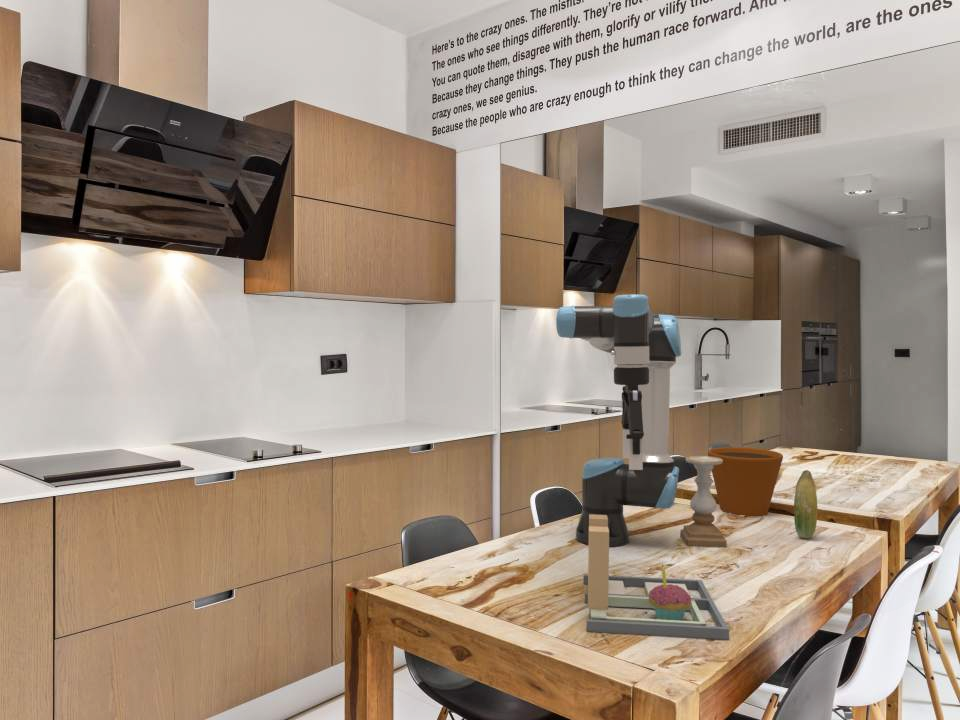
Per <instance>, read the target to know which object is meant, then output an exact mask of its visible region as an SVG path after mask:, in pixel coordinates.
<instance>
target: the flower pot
mask: <svg viewBox="0 0 960 720" xmlns="http://www.w3.org/2000/svg"><path fill="white" fill-rule="evenodd" d="M707 456H710V457H717V458H721V459H722V460H723V463H722V464H719V465H714V468H713V469H712V470H711V473H712V478H713V479H712V480H713V484H714V487H715V491H716V495H717V500H718V504H719V507H720V511H722V512H723V513H727V514H729V513H731V514H730V515H734V514H737V515H736V516H740V515H745V516H744V517H751V516H759V517H764V516H763V515H765V516H767V515H768V512H769V510H770V505H771V503H772V497H773V494H774V491H775V489H776V484H777V481H778V477H779V474H780V470H781V466H782V463H783V460H784V455H783V454H782V453H781V452H778V451H775V450H770V449H762V448H754V447H753V448H752V447H734V446H727V447H723V446H722V447H714V448H710V449H708V450H707Z"/></svg>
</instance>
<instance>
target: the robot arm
mask: <svg viewBox="0 0 960 720" xmlns="http://www.w3.org/2000/svg"><path fill="white" fill-rule="evenodd" d="M555 318H556V322H555V324H556V326H555V328H556V332H557V335H558V336H559V337H560V338H563V339H564V338H565V339H582V340H584V341H586V342H588V343H589V344H590V345H591V346H592V347H593V348H595V349H597V350H599V351H603V352H606V353H609V354H610V355H611V356H613V364H614V365H615V367H614V368H613V382H614V384H615V385H618V386H622V389H621V390H622V392H621V405H622V407H621V409H622V411H621V413H622V414H621V421H620V422H621V423H620V424H621V427H622V457H603V458H601V457H600V458H595V459H591V460H587V461H586V462H585V463H584V464H583V466H582V476H581V480H582V481H581V482H582V484H581V485H582V487H581V488H582V489H581V490H582V491H581V492H582V493H581V494H582V496H581V497H582V498H581V499H582V500H581V501H582V505H581V507H582V508H581V513H580V514H581V515H580V516H579V517H580V518H579V520H578V522H577V525H576V529H575V540H577V541H578V542H579V541H580V542H579V543H583V544H585V545H588V546H589V514H593V515H607V518H608V529H609V547H618V546H619V547H620V546H623V545H627V544H628V543H629V542H630V532H629V528H628V525H627V522H626V518H625V516H624V506H630V507H639V508H641V507H642V508H652V509H670V508H672V507H673V506H674V503H675V500H676V499H675V498H676V495H677V494H676V493H677V488H678V483H679V474H680V468H679V467H677V466H675V461H674V459H673V457H671V455H670V454H669V449H670V448H669V447H670V442H669V441H670V440H669V439H670V438H669V436H670V434H669V433H670V385H671V384H670V380H671V377H670V376H671V369H672V367H673V366H674V365H675V364H676V363H677V362H676V361H677V357H678V358H679V357H681V355H682V343H681V334H680V327H679V322H678V319H677V317H676V316H674V315H672V314H659V313H658V314H653V313H652V311H651V310H650V306H649V297H648V295H646V294H635V293H634V294H619V295H616V296H614V298H613V305H597V306H596V305H586V306H585V305H569V306H568V305H567V306H561V307H559V309H558V310H557V313H556V317H555ZM624 459H628V463H625V461H624Z"/></svg>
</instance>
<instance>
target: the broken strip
mask: <svg viewBox="0 0 960 720" xmlns="http://www.w3.org/2000/svg"><path fill="white" fill-rule="evenodd" d="M589 526H596V527H608V518H607V515H593V514H589ZM662 584H663V583H654V582H645V587H644V588H645V589H644V590H645V592H646V596H649V593H650V591H651V590H652V589H653V588H654V587H656V586H660V585H662ZM670 584H671V585H678V586H679V587H681V588H682V589H684V590H685V591H686V592H687V593H688V594H689V595H690V597H691V598H692V595H691V594H690V592H689V589H687V588H686V586H685V584H675V583H667V585H670ZM608 594H626V589H625V586H624V584H623V581H614V580H609V587H608ZM626 595H627V594H626Z"/></svg>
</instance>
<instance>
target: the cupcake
mask: <svg viewBox="0 0 960 720" xmlns="http://www.w3.org/2000/svg"><path fill="white" fill-rule="evenodd" d="M661 574H662V578H663V584H662V585H660V586H656V587H654V588H653V589H652V590H651V591H650V593H649V603H651V605H652V606H654V608H653V609H654V611H655V616H656V619H661V620H679V621H683V619H684V616H685V613H686V611H687V610H686V609H688V608H690V607H691V605H692V602H691V598H692V596H691V594H690V593H689V594H690V595H689V594H688V593H687V592H686V591H685V590H684V589H682V588H681V587H679V586H678V585H671V584H670V585H667V582H666V578H667V576H666V567H665V566H664V564H663V563H661ZM690 596H691V597H690Z"/></svg>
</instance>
